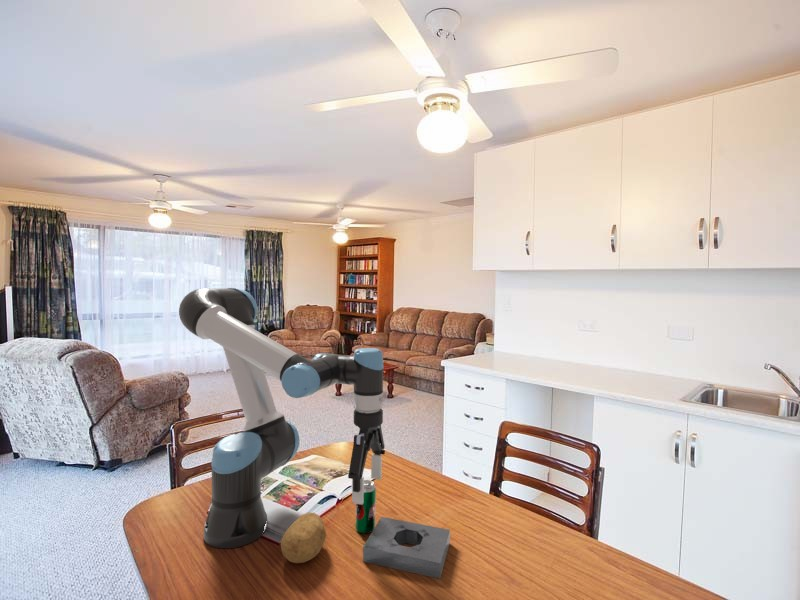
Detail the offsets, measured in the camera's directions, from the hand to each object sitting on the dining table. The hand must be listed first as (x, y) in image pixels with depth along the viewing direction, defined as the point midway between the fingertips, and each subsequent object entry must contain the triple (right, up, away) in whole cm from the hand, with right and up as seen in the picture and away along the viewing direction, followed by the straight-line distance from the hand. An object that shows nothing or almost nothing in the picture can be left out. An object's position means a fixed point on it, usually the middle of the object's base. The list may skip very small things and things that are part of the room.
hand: (367, 490), depth 107 cm
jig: (+10, -11, -8) cm, 17 cm away
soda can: (-1, -11, 0) cm, 11 cm away
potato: (-14, -11, -10) cm, 20 cm away
